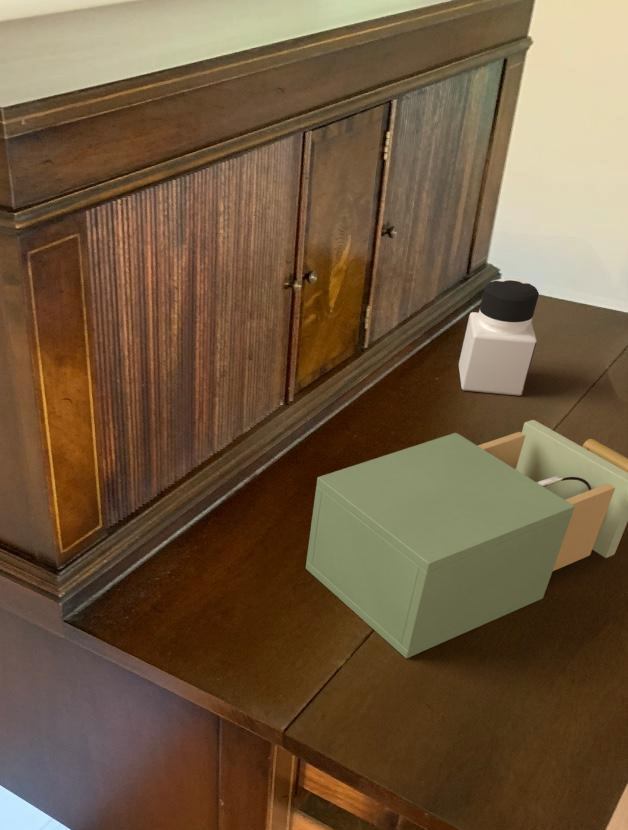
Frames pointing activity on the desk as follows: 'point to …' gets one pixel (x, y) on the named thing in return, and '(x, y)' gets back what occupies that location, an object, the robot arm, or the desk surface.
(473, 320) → the medicine bottle
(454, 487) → the cabinet
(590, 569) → the desk surface
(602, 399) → the desk surface
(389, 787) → the desk surface
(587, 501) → the drawer
